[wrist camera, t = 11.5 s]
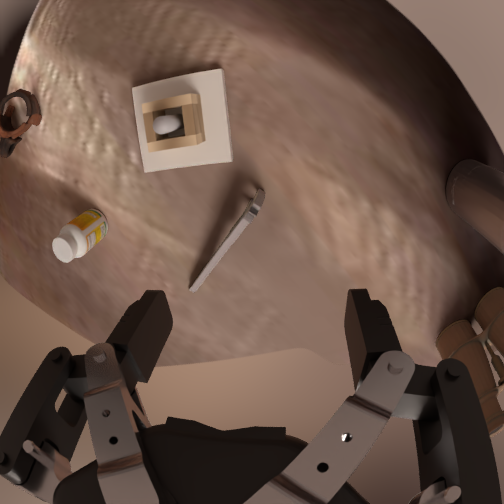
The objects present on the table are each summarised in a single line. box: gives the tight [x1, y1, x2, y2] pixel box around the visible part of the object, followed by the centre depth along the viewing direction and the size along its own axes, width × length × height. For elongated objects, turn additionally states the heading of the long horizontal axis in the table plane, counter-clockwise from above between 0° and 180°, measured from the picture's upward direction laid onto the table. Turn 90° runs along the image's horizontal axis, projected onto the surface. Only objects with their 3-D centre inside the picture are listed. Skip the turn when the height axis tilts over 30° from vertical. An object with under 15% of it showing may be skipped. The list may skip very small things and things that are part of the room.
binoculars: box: [436, 287, 504, 438], centre depth 34 cm, size 21×10×25 cm, turn 138°
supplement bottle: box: [52, 209, 108, 263], centre depth 38 cm, size 5×5×10 cm
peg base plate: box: [132, 69, 234, 173], centre depth 30 cm, size 12×12×8 cm
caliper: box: [189, 189, 265, 293], centre depth 39 cm, size 20×1×6 cm, turn 147°
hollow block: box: [142, 93, 206, 153], centre depth 30 cm, size 6×6×4 cm
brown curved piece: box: [0, 89, 42, 158], centre depth 31 cm, size 12×10×8 cm
